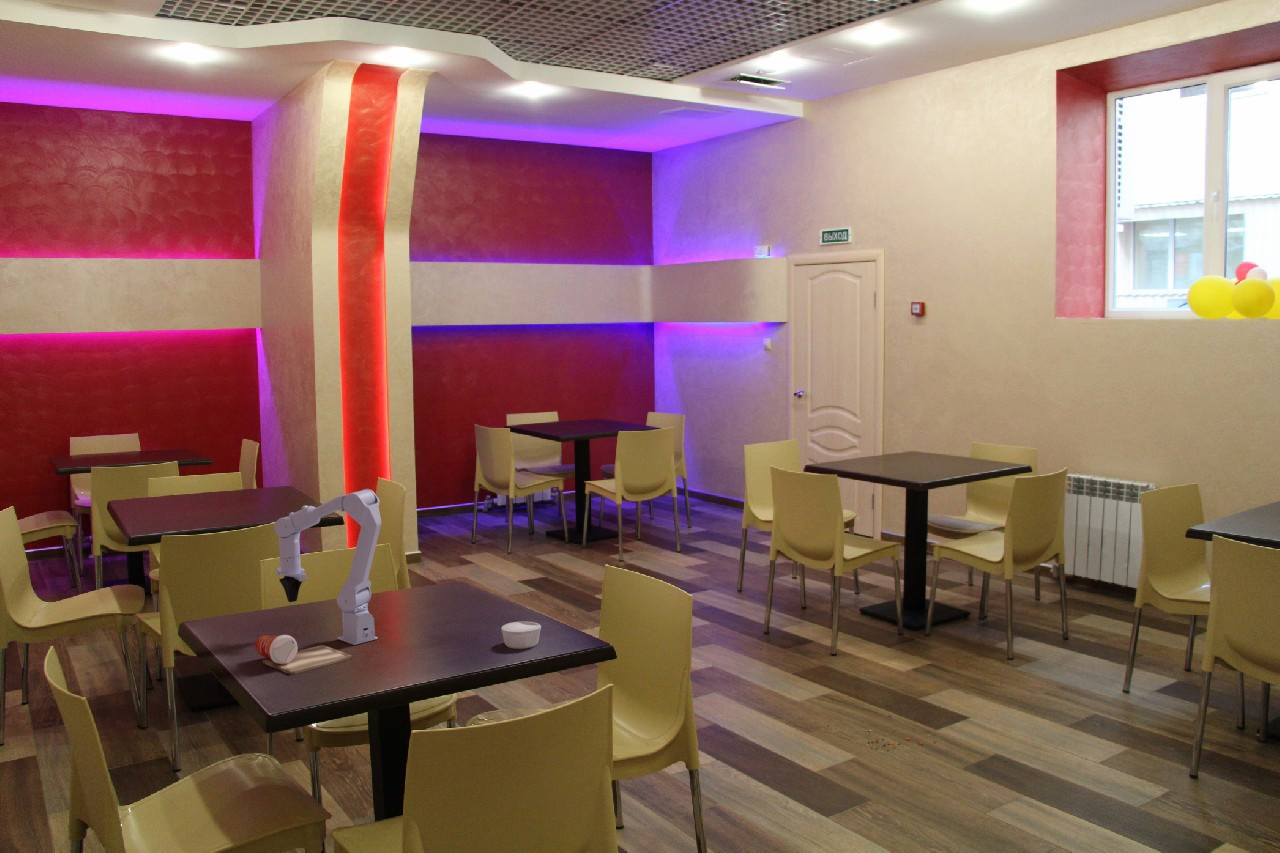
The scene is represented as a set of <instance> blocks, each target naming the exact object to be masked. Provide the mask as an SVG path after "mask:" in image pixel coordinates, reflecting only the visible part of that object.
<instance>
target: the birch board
mask: <svg viewBox="0 0 1280 853" xmlns="http://www.w3.org/2000/svg"><path fill="white" fill-rule="evenodd" d="M352 659H353V656H352V655H351V654H348V653H346V652H344V651H340V650H338V649H335V648H332V647H330V646H327V645H324V644H319V645H316V646H313V647H308V648H305V649H301V650H297V654H296V656H295V657H294V658H293V659H292V660H291V661H290V662H288V663H285V664H279V663H275V662H274V661H273V660H271V659H269V658H264V659H262V664H264V665H267V666H269V667H271V668H274V669H276V670H278V671H281V672H283V673H285V674H287V675H290V676H293V675H298V674H300V673H304V672H308V671H311V670H315V669H320V668H323V667H326V666H329V665H330V666H331V665H334V664H339V663H341V662H344V661H349V660H352Z"/></svg>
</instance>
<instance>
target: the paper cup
mask: <svg viewBox="0 0 1280 853" xmlns="http://www.w3.org/2000/svg"><path fill="white" fill-rule="evenodd" d="M254 648H255V651H256V653H257V654H258V655H259V656H261V657H264V658H265V659H271V660H273V661H274V662H275V663H279V664H285V663H288V662H290V661H291V660H292V659H293V658H294V657H295V656H296V654H297V651H299V650H298V643H297V640H296V639H295V638H294V637H292V636H291V635H288V634H282V635H261V636H260V637H259V638H258V639H257V640H256V642H255V644H254Z"/></svg>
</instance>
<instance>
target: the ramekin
mask: <svg viewBox="0 0 1280 853" xmlns="http://www.w3.org/2000/svg"><path fill="white" fill-rule="evenodd" d="M500 629H501V633H502V637H503V643H504V645H505V646H506V647H507V648H511V649H516V650H517V649H520V650H522V649H528V648H529V649H530V648H533V647H535V646H536V645H538V643H539V639H540V633H541V629H542V625H541V624H540V623H537V622H534V621H513V622H509V623H506V624H504V625H502V626H501V628H500Z"/></svg>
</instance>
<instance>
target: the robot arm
mask: <svg viewBox="0 0 1280 853" xmlns="http://www.w3.org/2000/svg"><path fill="white" fill-rule="evenodd" d="M379 506H380V499H379V497H378V496H377V495H376V493H375V492H374V491H373V490H372V489H369V488H364V489H362V490H359V491H354V492H350V493H347V494H343V495H339V496H337V497H335V498H332V499H331V500H329V501H327V502H324V503H323V504H321V505H319V506H317V507H316V506H312V505H309V506H308V505H303V506H302V507H301V509H300V510H297V511H296V512H294V511H292V512H290V513H289V514H288V516H285V517H280V518H279V519H277V520H276V521H275V522H274V524H273V525H274V532H275V533H276V535H277V537H278V543H279V544H278V545H279V561H280V562H279V563H280V565H279V566H280V567H277V568H276V569H275V570H276V571H275V575H277V576H278V575H279V576H281V577H282V576H283V578H279V582H280V584H281V585H282V588H283V589H284V592H285V596H286V599H287V602H288V603H294V602H297V601H298V596H299V592H300V589H301V585H302V583H303V582H305V581H307V573H305V568H302V566H301V564H302V563H301V547H300V545H301V544H300V538H301V532H302V531H304V530H307V529H309V528H311V527H313V526H315V525H317V524H320V521H321V518H323V517H325V516H327V515H329V514H332V513H334V512H337V511H340V512H342V513H343V512H345V513H346V514H347V515H348V516H350V518H351V519H353V520H355V522H356V523H358V525H359V526H360V530H359V535H358V539H357V543H356V547H355V552H354V556H353V559H352V563H351V568H350V571H349V576H348V577H347V579H346V580H345V582H344V583H343V585H342V588H341V591H339V593H338V594H337V597H336V604H337V606H338V608H339V609H340V610H341V613H342V614H341V615H342V618H341V619H342V636H338V637H337V640H339V641H342V642H345V643H347V644H351V645H353V646H355V645H359V644H363V643H367V642H370V641H375V640H378V639H379V638H378V637H377V636H376V630H375V618H374V616H373V614H371V613H370V611H369V610H368V606H369V602H370V601H371V599H372V591H371V585H372V582H371V581H370V580H369V576H370V572H371V568H372V564H373V560H374V555H375V552H376V547H377V543H378V541H379V540H378V539H379V536H380V531H381V527H382V519H381V518H382V517H381V513H380V507H379Z"/></svg>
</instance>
